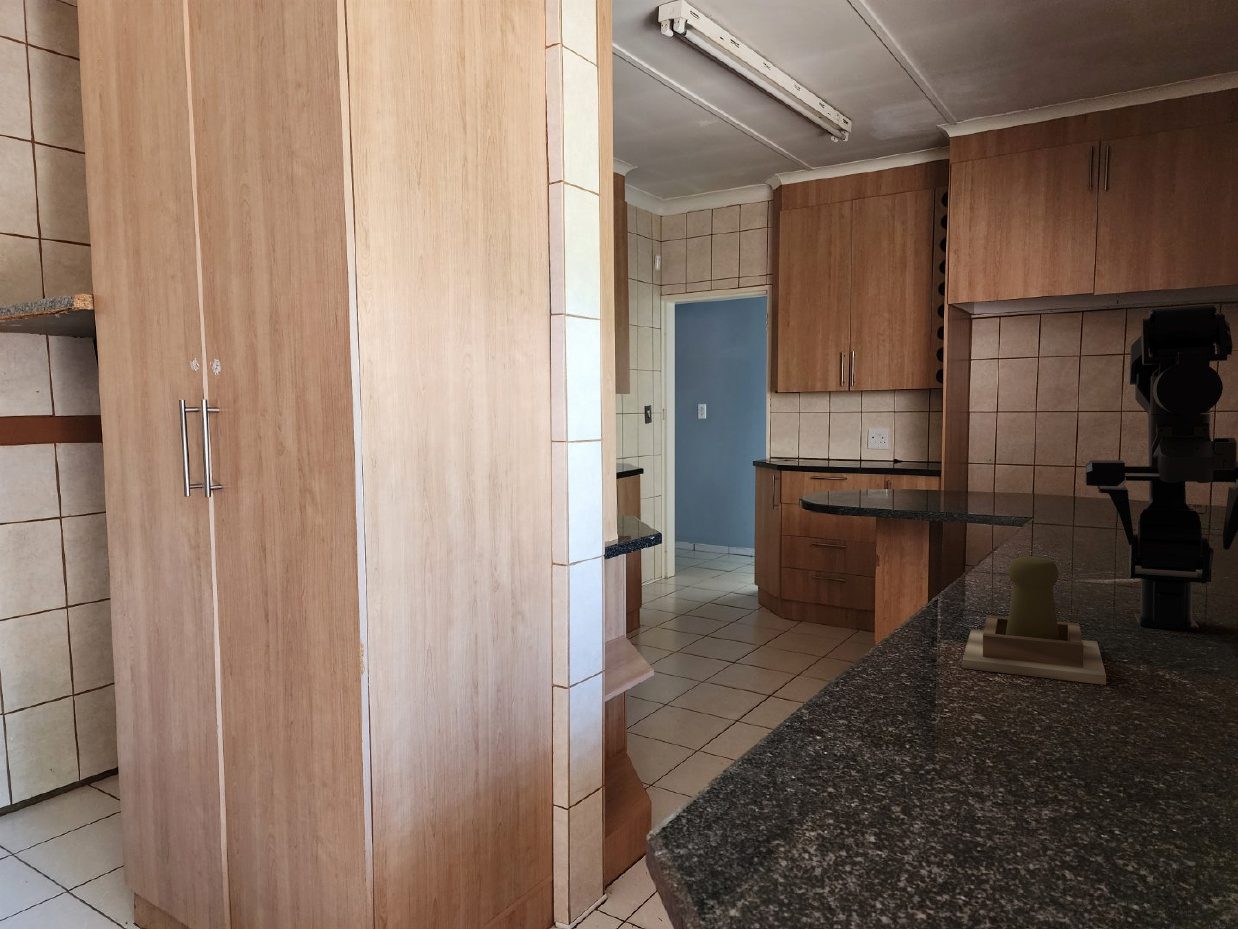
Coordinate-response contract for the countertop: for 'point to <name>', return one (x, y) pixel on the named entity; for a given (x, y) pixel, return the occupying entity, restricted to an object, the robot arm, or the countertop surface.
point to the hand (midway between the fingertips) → (1177, 547)
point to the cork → (1032, 598)
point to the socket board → (1035, 653)
